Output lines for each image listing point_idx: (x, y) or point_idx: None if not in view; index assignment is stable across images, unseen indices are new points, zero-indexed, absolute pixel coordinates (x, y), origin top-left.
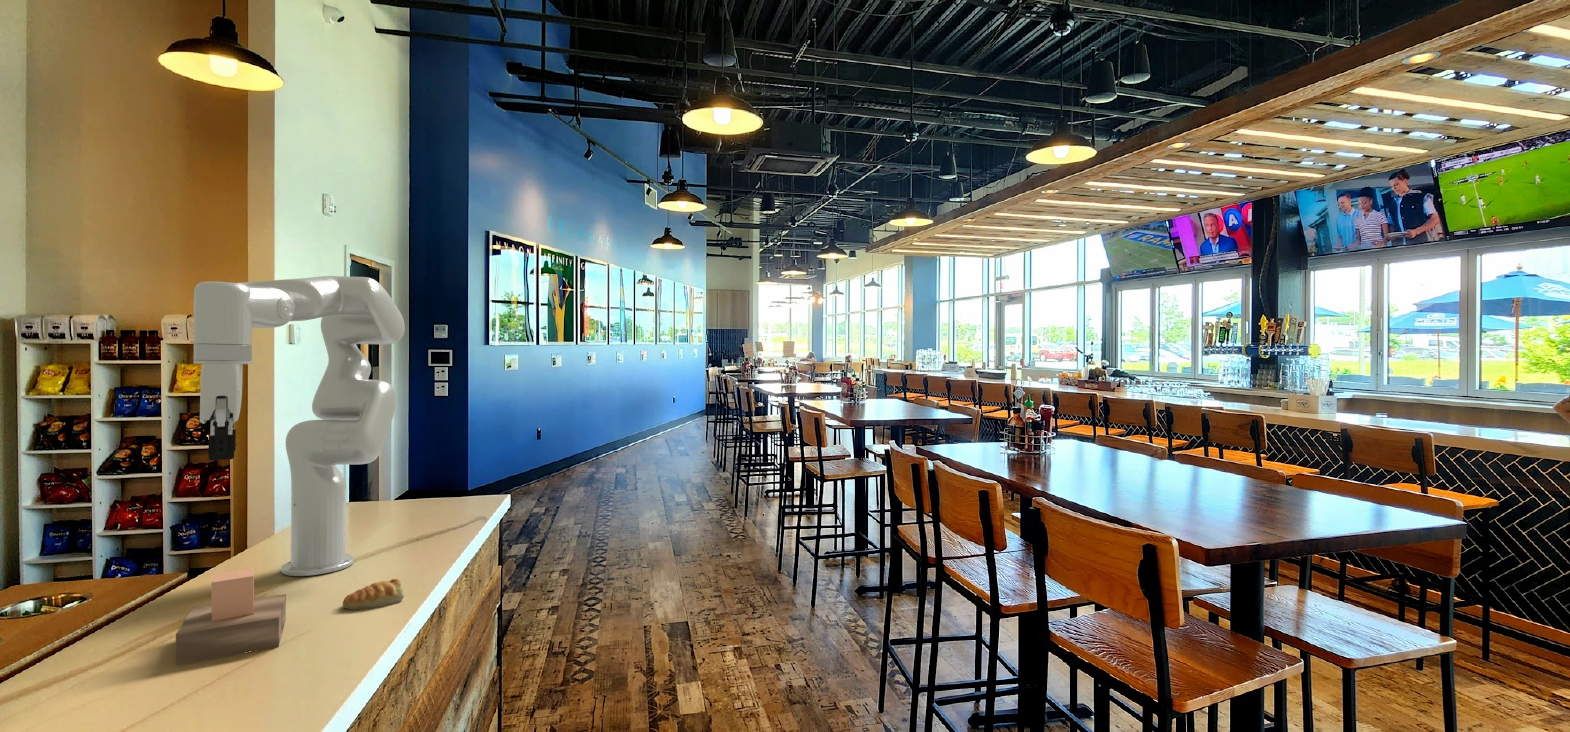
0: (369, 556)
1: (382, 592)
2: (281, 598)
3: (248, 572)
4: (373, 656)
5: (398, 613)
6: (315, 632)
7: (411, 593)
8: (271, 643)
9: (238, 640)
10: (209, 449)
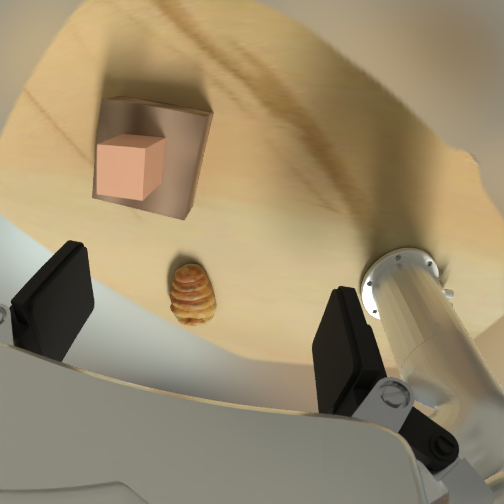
0: None
1: (171, 302)
2: (166, 212)
3: (118, 191)
4: (46, 244)
5: (139, 294)
6: (129, 222)
7: None
8: None
9: None
10: (46, 264)
